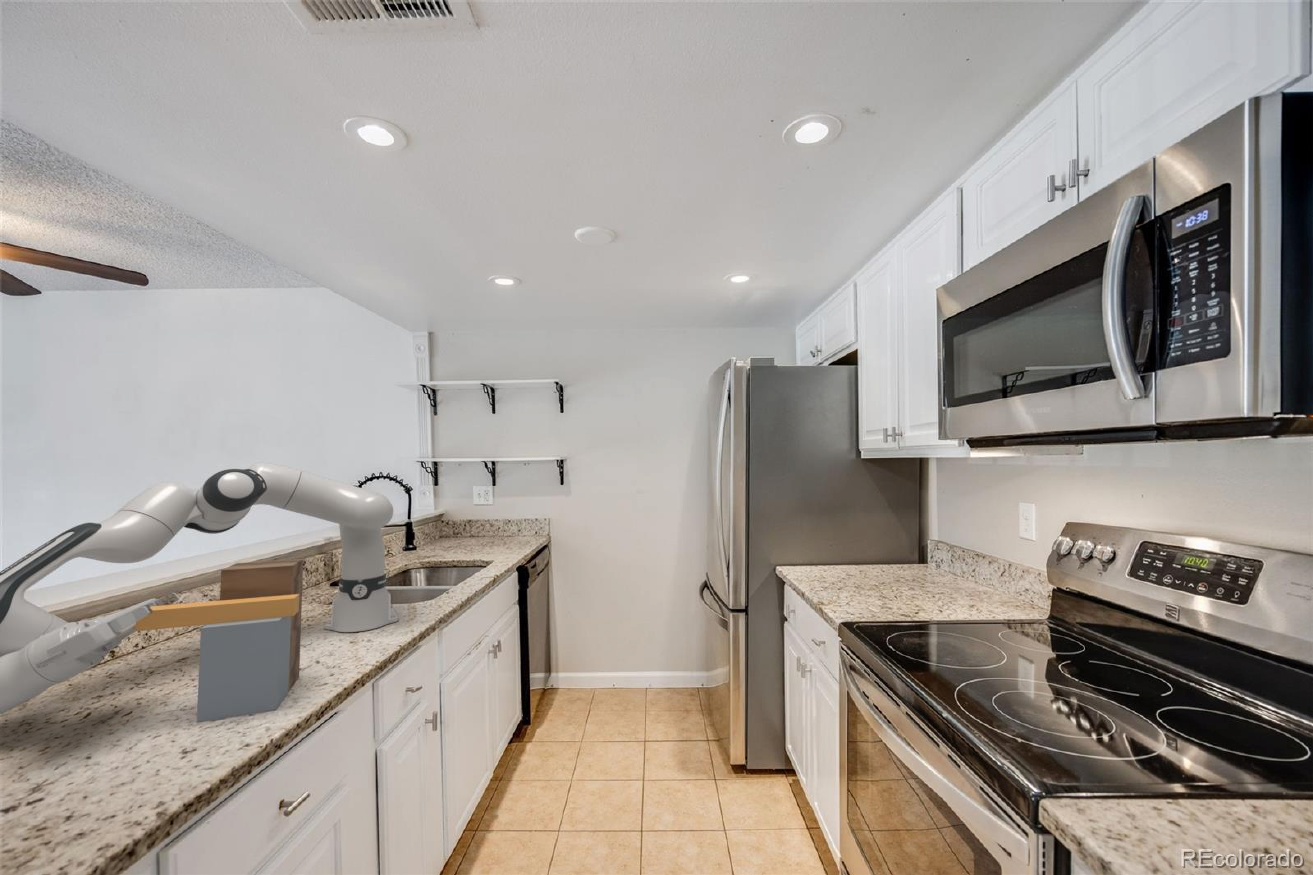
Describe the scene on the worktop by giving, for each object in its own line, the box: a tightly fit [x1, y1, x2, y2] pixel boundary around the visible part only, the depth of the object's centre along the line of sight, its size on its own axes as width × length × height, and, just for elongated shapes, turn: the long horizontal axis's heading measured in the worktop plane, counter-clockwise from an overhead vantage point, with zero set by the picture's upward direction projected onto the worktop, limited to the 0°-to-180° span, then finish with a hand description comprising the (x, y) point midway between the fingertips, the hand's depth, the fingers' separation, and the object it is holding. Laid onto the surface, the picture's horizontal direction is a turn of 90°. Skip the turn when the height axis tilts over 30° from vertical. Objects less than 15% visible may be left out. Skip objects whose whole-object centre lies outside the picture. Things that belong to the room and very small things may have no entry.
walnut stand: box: [219, 558, 304, 693], centre depth 106 cm, size 8×12×26 cm, turn 112°
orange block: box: [135, 594, 299, 632], centre depth 97 cm, size 4×24×4 cm, turn 112°
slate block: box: [196, 616, 291, 723], centre depth 98 cm, size 8×12×17 cm, turn 112°
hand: (162, 602), depth 94 cm, fingers open, 8 cm apart
